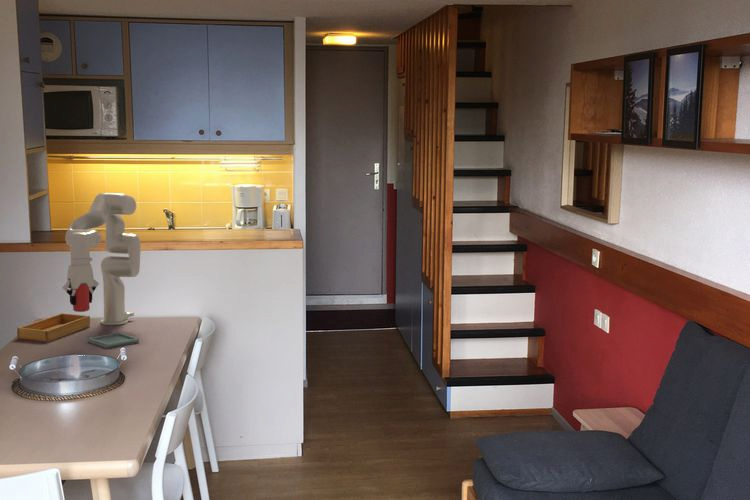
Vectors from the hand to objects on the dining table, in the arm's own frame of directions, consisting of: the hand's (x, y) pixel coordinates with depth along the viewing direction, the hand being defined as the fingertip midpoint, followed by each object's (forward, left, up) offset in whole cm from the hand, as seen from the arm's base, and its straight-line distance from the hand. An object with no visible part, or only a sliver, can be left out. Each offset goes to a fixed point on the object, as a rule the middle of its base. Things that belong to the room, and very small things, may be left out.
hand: (81, 303), depth 346 cm
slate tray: (-11, +7, -18) cm, 22 cm away
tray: (-2, -26, -18) cm, 32 cm away
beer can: (0, 0, -3) cm, 3 cm away
